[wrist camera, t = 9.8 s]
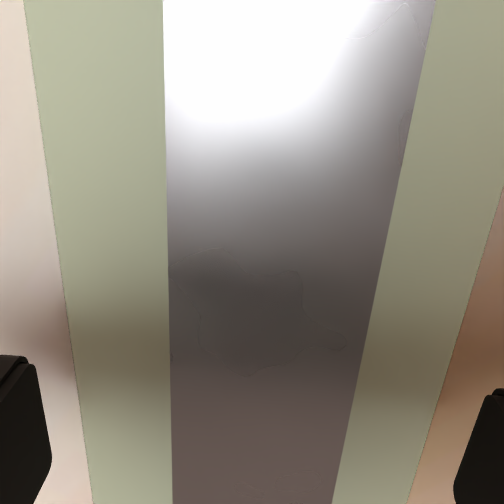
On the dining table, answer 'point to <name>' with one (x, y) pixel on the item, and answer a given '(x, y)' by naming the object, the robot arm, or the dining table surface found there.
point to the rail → (277, 229)
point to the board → (156, 243)
